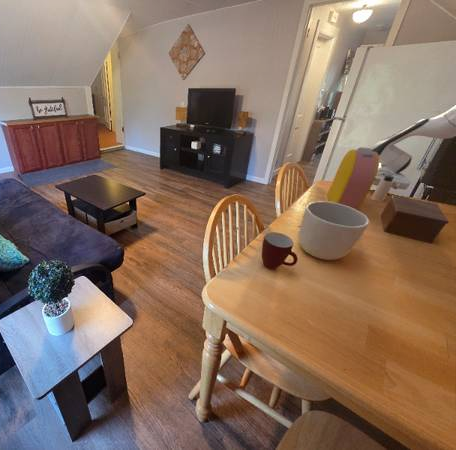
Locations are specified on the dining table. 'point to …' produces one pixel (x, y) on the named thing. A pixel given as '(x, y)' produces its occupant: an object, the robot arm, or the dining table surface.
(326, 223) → the planter
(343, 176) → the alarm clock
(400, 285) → the dining table surface
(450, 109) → the robot arm
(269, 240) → the mug
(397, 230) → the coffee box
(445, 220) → the box lid
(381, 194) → the pepper mill
